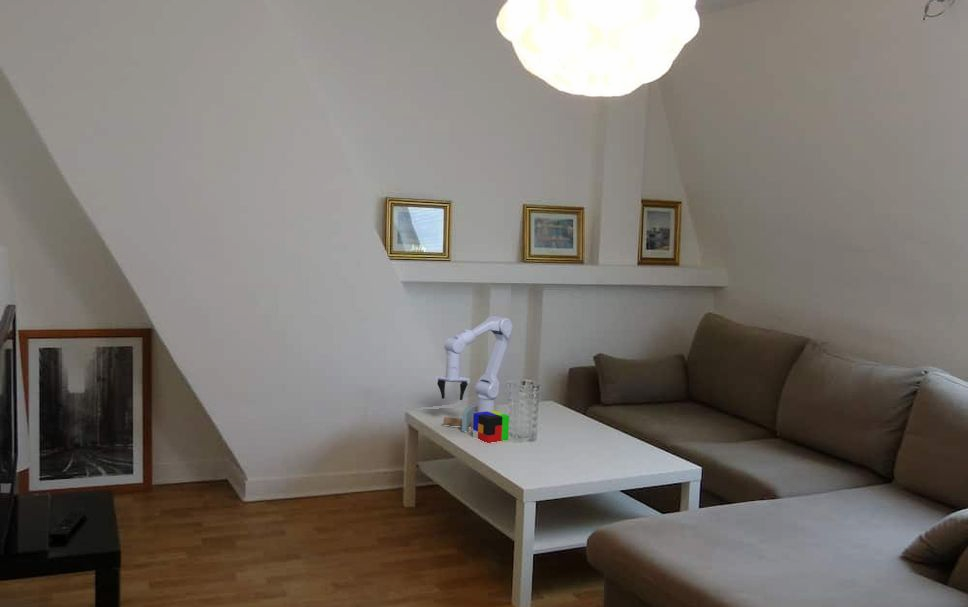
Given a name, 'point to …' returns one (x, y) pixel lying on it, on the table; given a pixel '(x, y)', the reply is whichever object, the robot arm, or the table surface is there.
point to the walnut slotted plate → (455, 422)
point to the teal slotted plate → (467, 417)
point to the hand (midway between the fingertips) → (452, 399)
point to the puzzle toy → (491, 426)
